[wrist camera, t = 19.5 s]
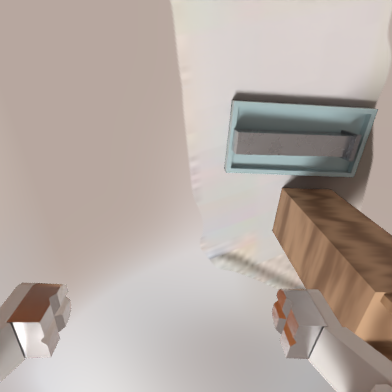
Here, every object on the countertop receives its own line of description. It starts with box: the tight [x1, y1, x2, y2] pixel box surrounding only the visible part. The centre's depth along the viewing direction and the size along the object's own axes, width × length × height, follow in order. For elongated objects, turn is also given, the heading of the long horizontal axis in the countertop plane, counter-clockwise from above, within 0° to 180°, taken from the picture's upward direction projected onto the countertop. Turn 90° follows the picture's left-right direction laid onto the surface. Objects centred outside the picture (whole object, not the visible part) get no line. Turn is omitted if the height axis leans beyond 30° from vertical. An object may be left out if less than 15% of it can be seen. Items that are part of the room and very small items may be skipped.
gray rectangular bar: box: [231, 129, 362, 161], centre depth 41 cm, size 20×4×4 cm, turn 87°
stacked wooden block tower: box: [272, 188, 392, 361], centre depth 38 cm, size 10×10×28 cm
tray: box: [224, 100, 378, 177], centre depth 43 cm, size 24×12×2 cm, turn 87°
